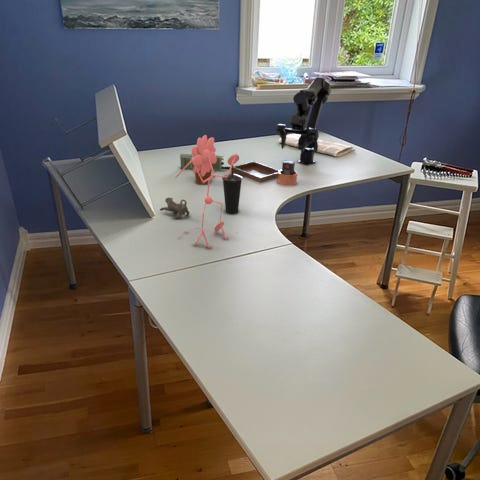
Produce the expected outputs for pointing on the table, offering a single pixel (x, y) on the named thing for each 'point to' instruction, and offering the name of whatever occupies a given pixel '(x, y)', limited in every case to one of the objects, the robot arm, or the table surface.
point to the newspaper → (321, 145)
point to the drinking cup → (232, 192)
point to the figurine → (202, 161)
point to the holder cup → (287, 178)
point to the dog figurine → (176, 207)
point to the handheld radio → (187, 158)
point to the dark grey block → (288, 168)
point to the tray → (256, 171)
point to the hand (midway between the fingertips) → (292, 149)
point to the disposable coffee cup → (198, 180)
